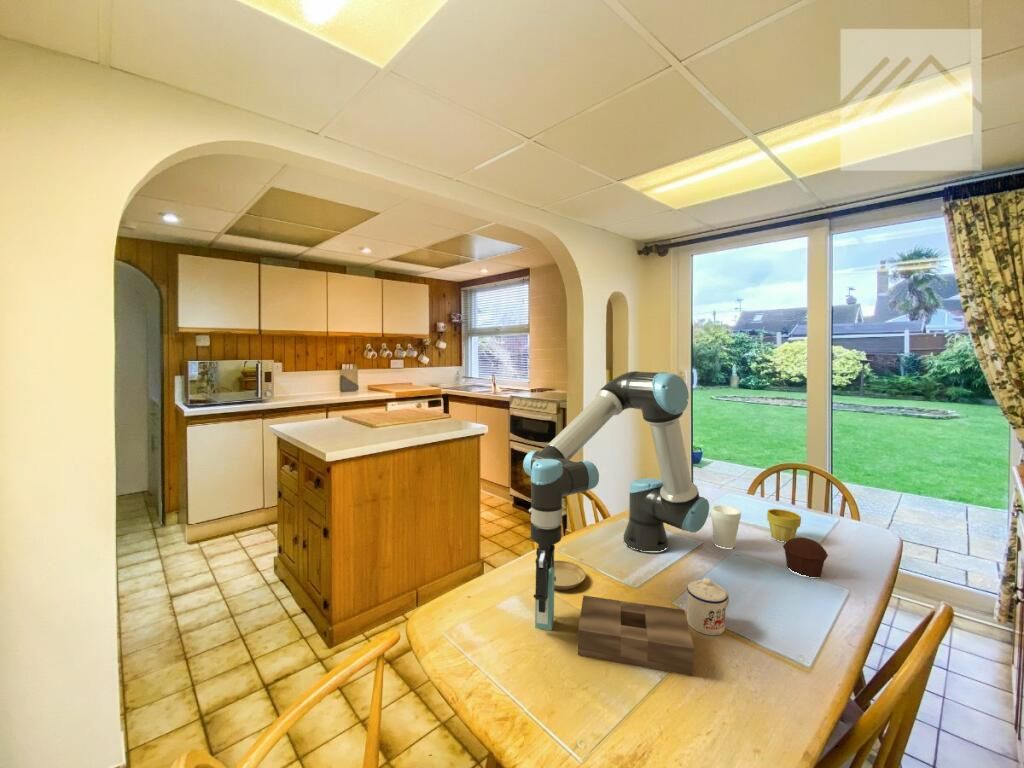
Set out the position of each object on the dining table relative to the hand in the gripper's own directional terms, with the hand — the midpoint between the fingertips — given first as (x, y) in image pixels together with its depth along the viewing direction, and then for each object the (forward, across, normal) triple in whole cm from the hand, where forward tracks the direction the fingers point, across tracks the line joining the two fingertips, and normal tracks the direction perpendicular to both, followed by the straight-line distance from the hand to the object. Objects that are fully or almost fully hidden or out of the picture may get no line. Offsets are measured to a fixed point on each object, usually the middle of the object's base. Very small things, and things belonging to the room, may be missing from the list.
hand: (544, 614), depth 106 cm
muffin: (+3, -47, +74) cm, 88 cm away
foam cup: (+3, -60, +54) cm, 81 cm away
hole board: (+3, +2, +21) cm, 21 cm away
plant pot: (+3, -71, +76) cm, 104 cm away
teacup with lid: (+3, -11, +40) cm, 42 cm away
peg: (+3, 0, 0) cm, 3 cm away
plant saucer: (+3, -22, +1) cm, 22 cm away
